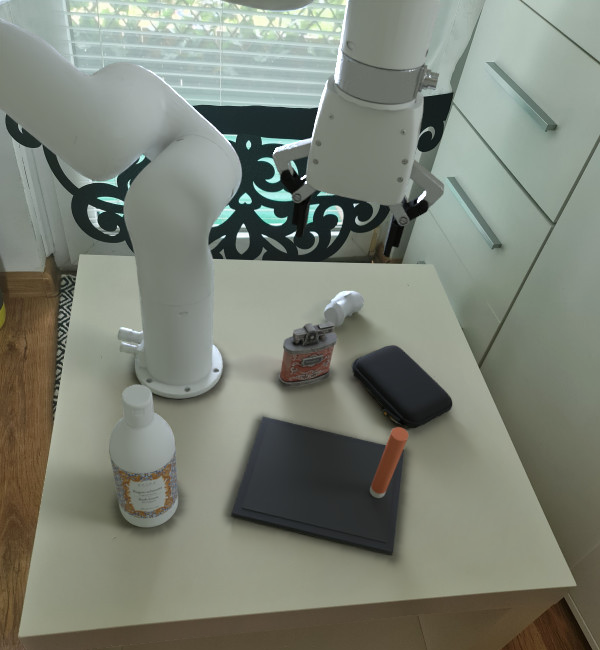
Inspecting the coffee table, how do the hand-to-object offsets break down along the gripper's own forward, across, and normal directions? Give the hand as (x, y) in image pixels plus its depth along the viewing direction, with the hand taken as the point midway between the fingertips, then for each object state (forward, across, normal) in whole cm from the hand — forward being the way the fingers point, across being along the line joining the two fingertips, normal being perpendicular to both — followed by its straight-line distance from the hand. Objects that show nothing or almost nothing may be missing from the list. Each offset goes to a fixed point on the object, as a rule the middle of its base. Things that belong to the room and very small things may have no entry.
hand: (344, 240), depth 67 cm
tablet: (+28, -4, +12) cm, 31 cm away
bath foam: (+28, +16, +21) cm, 39 cm away
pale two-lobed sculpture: (+28, -1, -22) cm, 36 cm away
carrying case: (+28, -12, -7) cm, 32 cm away
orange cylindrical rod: (+27, -11, +12) cm, 32 cm away
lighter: (+28, +2, -6) cm, 29 cm away
